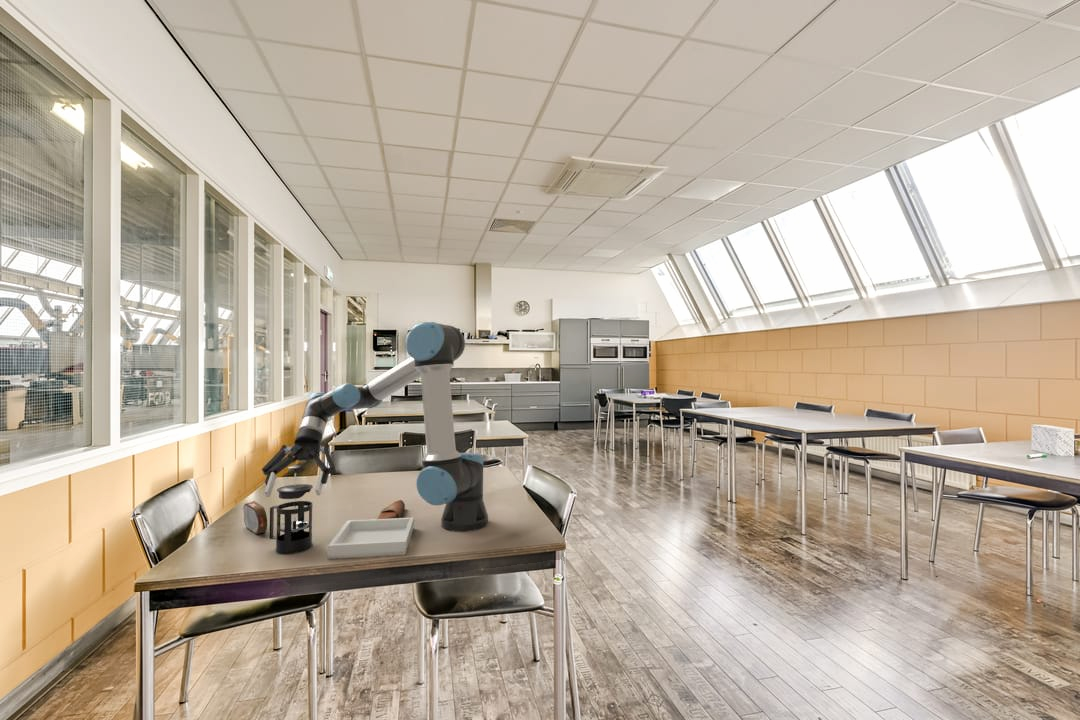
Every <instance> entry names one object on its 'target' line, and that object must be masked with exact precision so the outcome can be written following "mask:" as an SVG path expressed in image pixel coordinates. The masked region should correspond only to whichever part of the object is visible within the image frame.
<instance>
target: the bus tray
mask: <svg viewBox="0 0 1080 720" xmlns="http://www.w3.org/2000/svg"><path fill="white" fill-rule="evenodd" d="M414 528H415V517H402V518H391V519H377V518H374V519H372V518H371V519H351V520H349V519H348V520H346V521H345V523H344V525H342V527H341V528H340V530H338V532H337V533H336V535H335V536H334V537H333V538H332V540H331V541H330V542H329V544H328V545H327V560H333V559H334V560H336V559H351V558H353V559H354V558H370V557H371V558H372V557H386V556H388V555H389V556H404V555H405V554H406V555H407V551H408V549H407V548H409V545H410V542H411V539H412V535H413V533H414V530H415V529H414ZM413 529H414V530H413ZM412 532H413V533H412ZM389 556H388V557H389Z"/></svg>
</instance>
